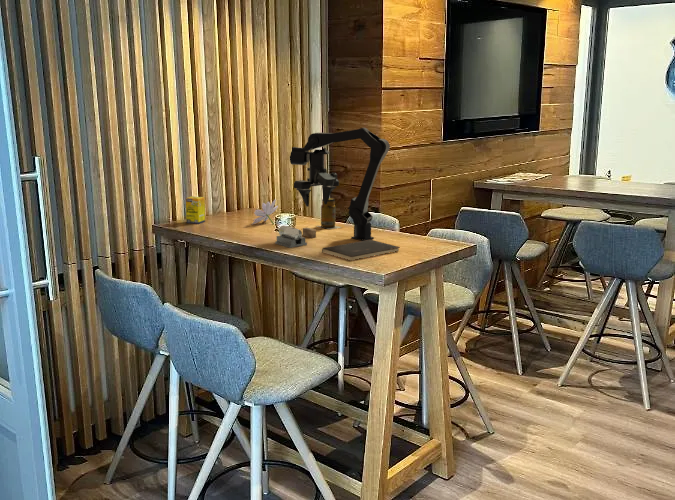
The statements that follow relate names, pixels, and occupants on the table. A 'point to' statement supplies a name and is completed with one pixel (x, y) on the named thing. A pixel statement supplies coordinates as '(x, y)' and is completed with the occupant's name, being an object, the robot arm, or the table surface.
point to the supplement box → (195, 210)
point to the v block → (290, 241)
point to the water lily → (265, 212)
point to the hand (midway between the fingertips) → (316, 205)
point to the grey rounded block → (309, 232)
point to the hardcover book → (360, 249)
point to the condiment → (328, 214)
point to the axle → (290, 232)
